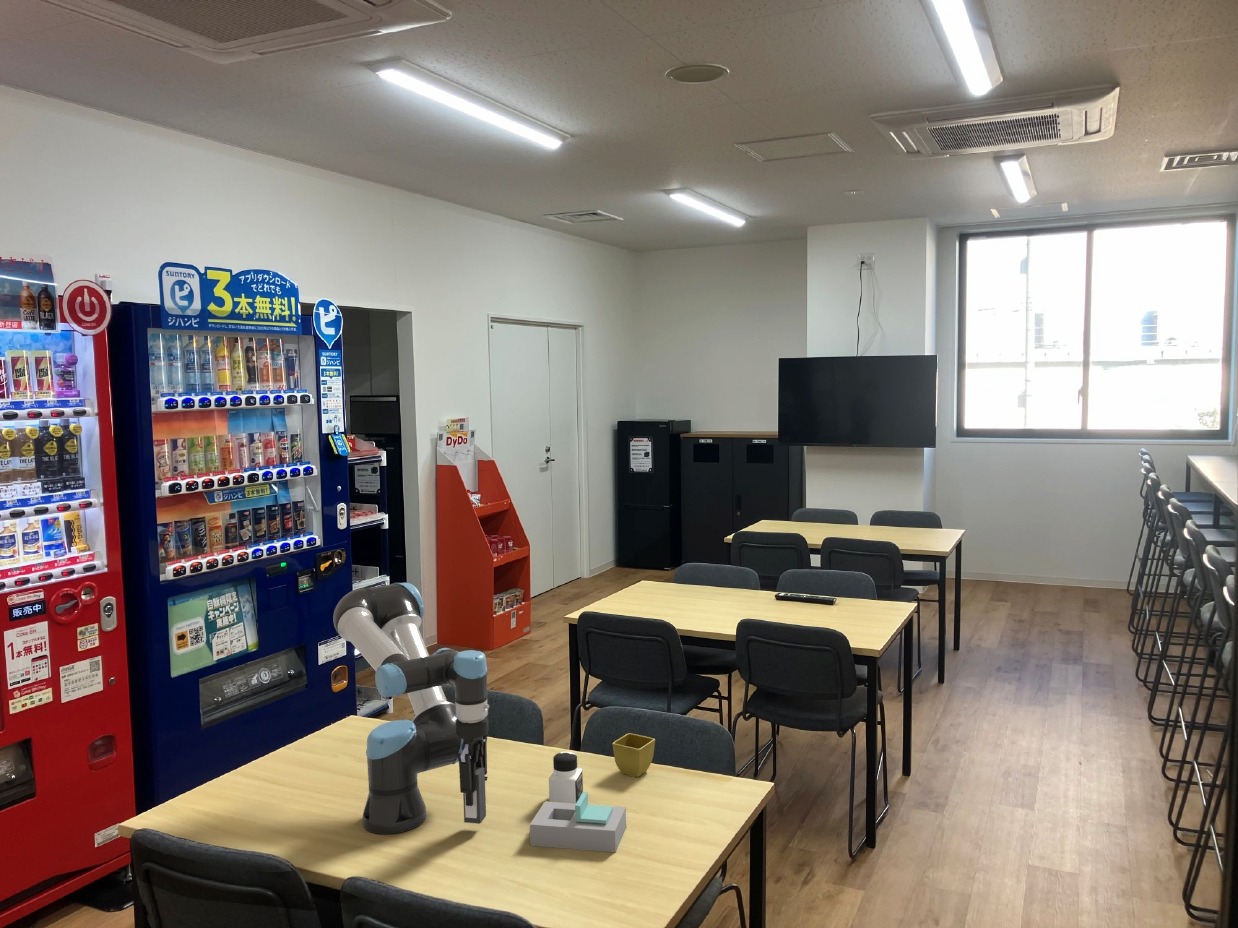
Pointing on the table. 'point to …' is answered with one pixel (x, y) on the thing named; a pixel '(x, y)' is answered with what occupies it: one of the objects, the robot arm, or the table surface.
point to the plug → (478, 797)
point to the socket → (576, 829)
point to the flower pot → (633, 754)
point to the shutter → (591, 811)
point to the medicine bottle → (565, 779)
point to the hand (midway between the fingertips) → (474, 812)
